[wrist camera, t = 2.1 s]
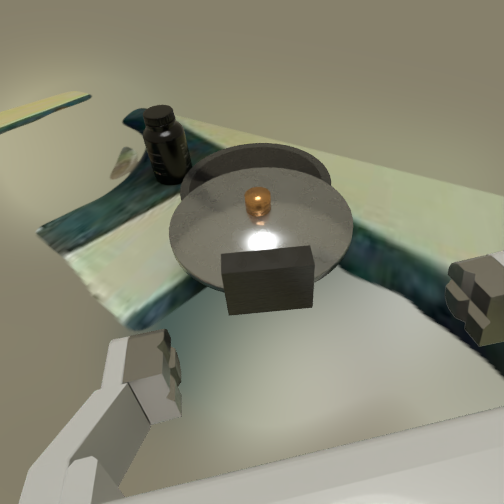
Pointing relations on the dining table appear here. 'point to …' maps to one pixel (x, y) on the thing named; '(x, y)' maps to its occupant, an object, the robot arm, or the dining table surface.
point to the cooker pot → (252, 163)
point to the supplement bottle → (166, 145)
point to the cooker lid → (261, 237)
